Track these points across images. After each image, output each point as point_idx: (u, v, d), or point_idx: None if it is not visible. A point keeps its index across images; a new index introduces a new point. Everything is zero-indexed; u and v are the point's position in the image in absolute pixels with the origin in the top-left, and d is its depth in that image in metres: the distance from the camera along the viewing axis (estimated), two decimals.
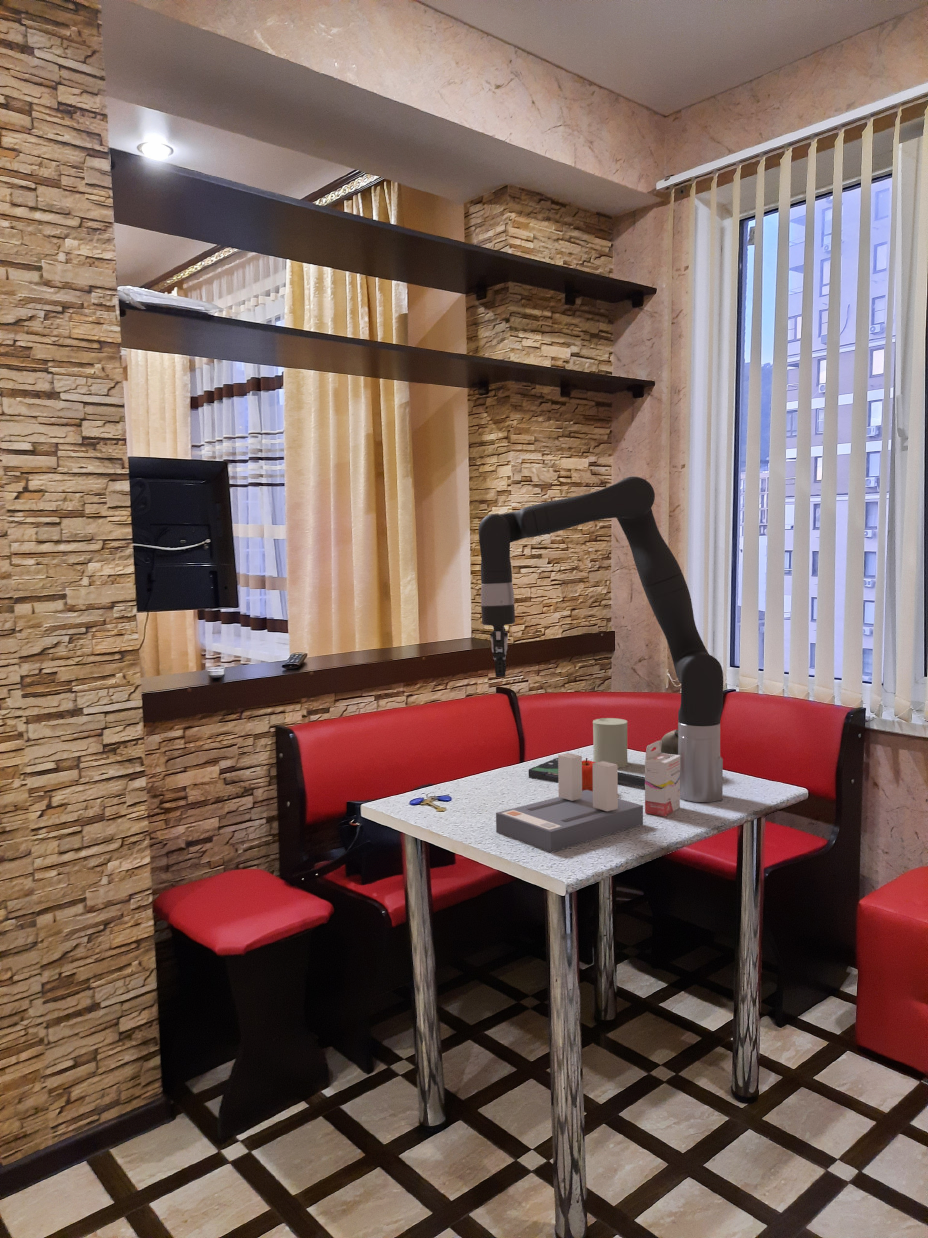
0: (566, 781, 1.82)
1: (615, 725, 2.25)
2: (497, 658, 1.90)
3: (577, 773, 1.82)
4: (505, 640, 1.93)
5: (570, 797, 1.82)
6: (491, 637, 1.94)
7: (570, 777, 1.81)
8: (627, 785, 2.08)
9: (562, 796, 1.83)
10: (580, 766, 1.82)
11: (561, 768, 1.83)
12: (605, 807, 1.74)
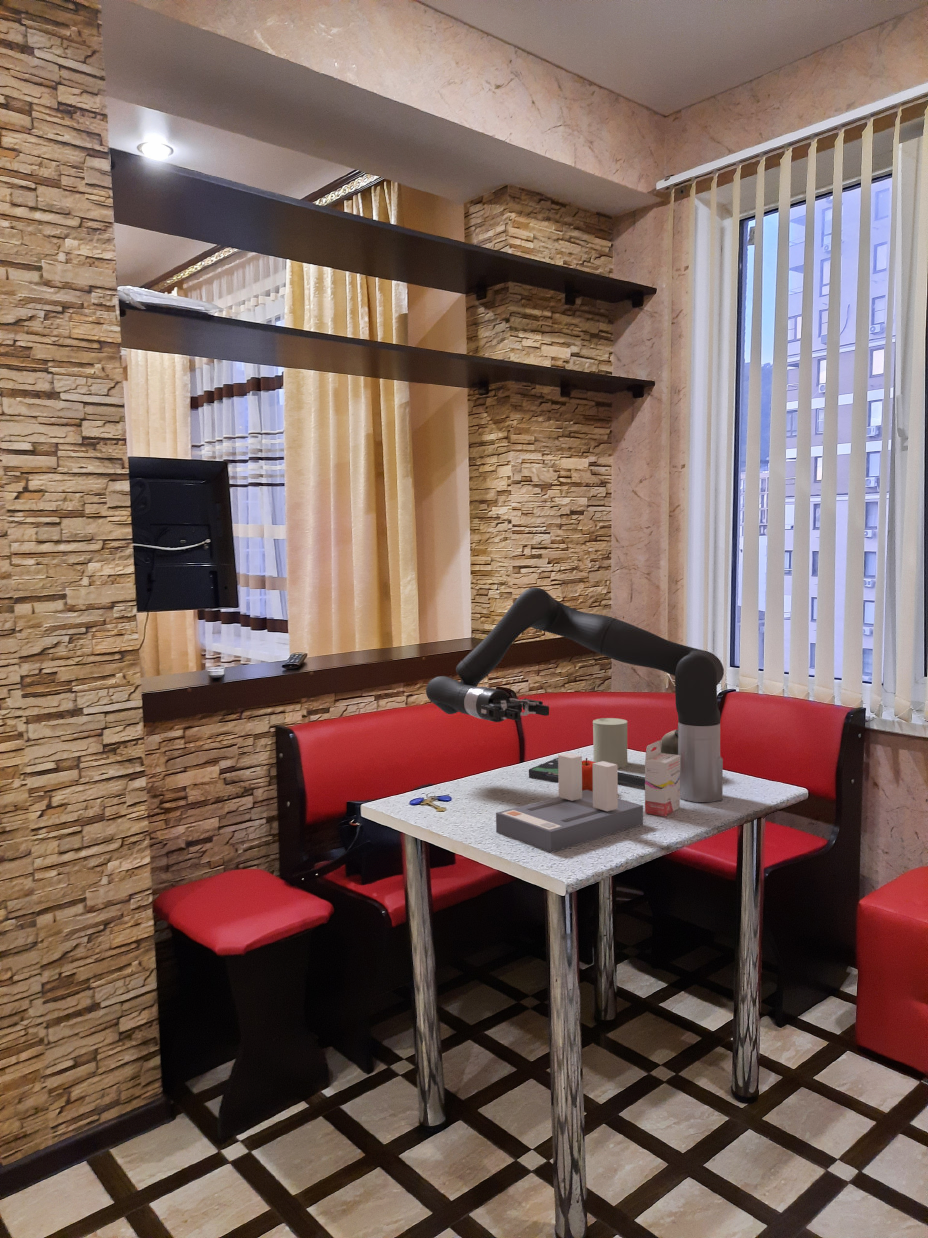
0: (566, 781, 1.82)
1: (615, 725, 2.25)
2: (499, 716, 1.91)
3: (577, 773, 1.82)
4: (500, 703, 1.96)
5: (570, 797, 1.82)
6: None
7: (570, 777, 1.81)
8: (627, 785, 2.08)
9: (562, 796, 1.83)
10: (580, 766, 1.82)
11: (561, 768, 1.83)
12: (605, 807, 1.74)
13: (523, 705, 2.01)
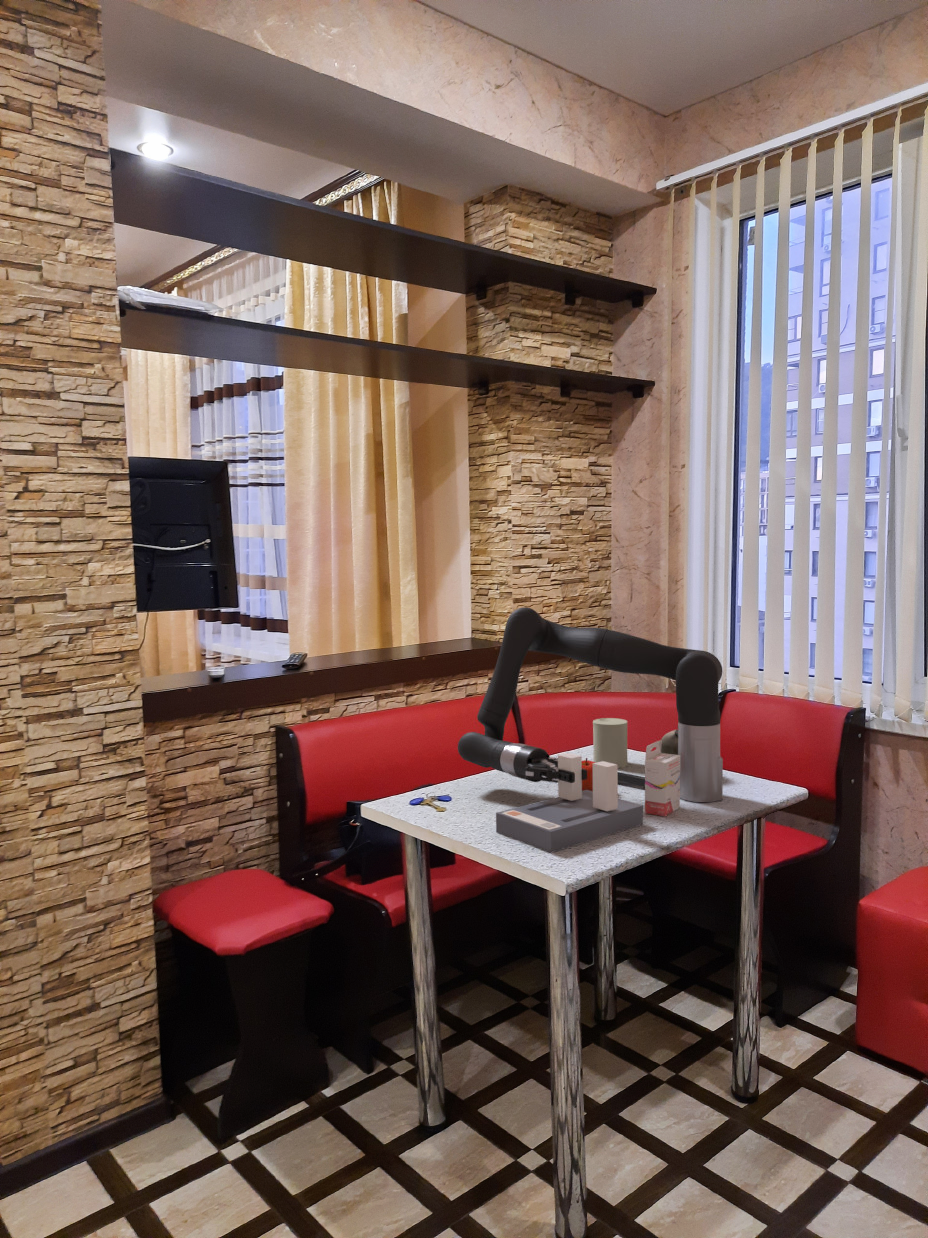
0: None
1: (615, 725, 2.25)
2: (552, 777, 1.82)
3: (577, 774, 1.82)
4: (544, 764, 1.86)
5: (569, 797, 1.82)
6: None
7: None
8: (627, 785, 2.08)
9: (562, 796, 1.83)
10: (580, 766, 1.82)
11: (560, 768, 1.83)
12: (605, 807, 1.74)
13: None
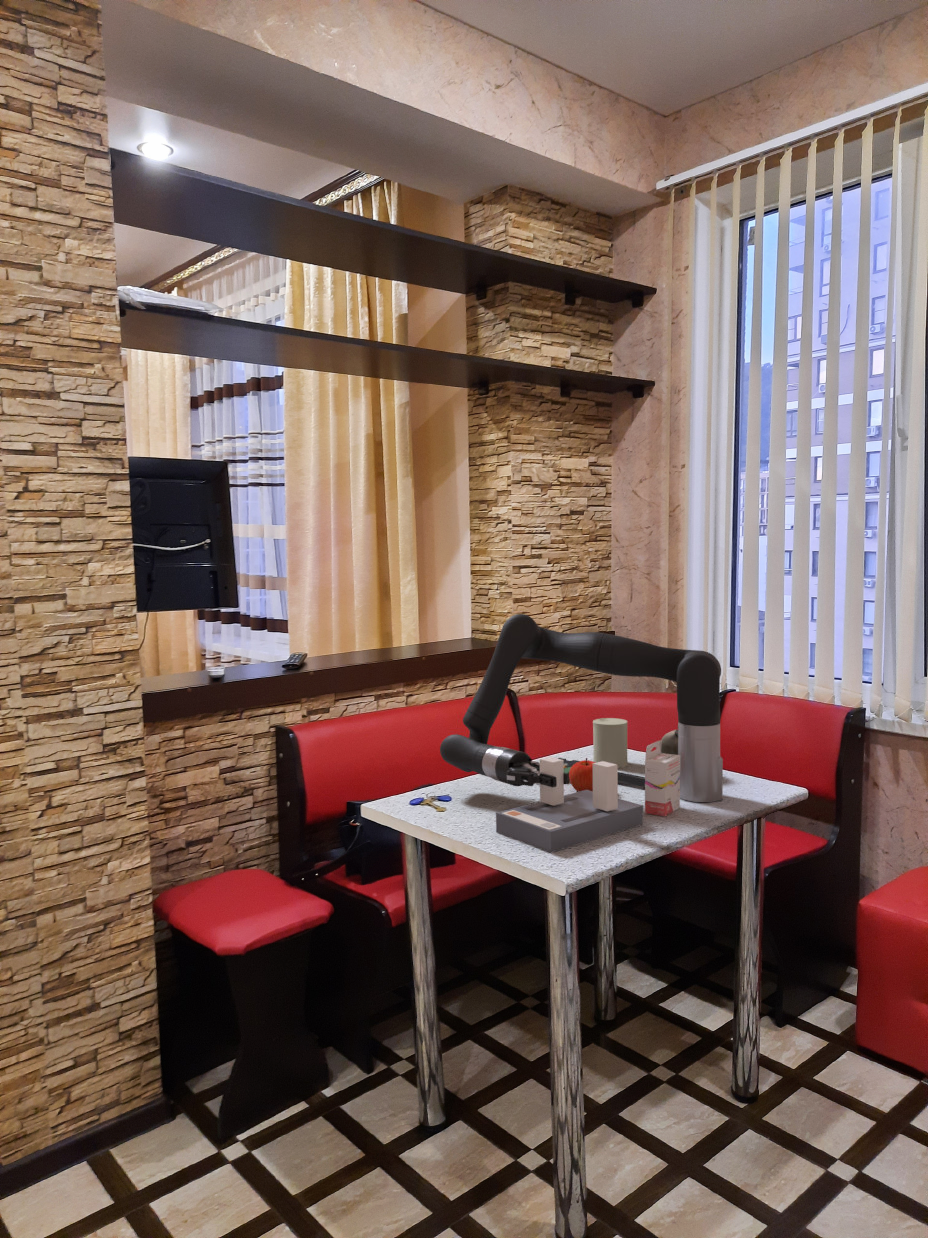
0: None
1: (615, 725, 2.25)
2: (533, 782, 1.79)
3: (559, 778, 1.79)
4: (526, 768, 1.83)
5: (551, 802, 1.78)
6: None
7: None
8: (627, 785, 2.08)
9: (543, 801, 1.80)
10: (562, 770, 1.79)
11: (542, 772, 1.80)
12: (605, 807, 1.74)
13: None
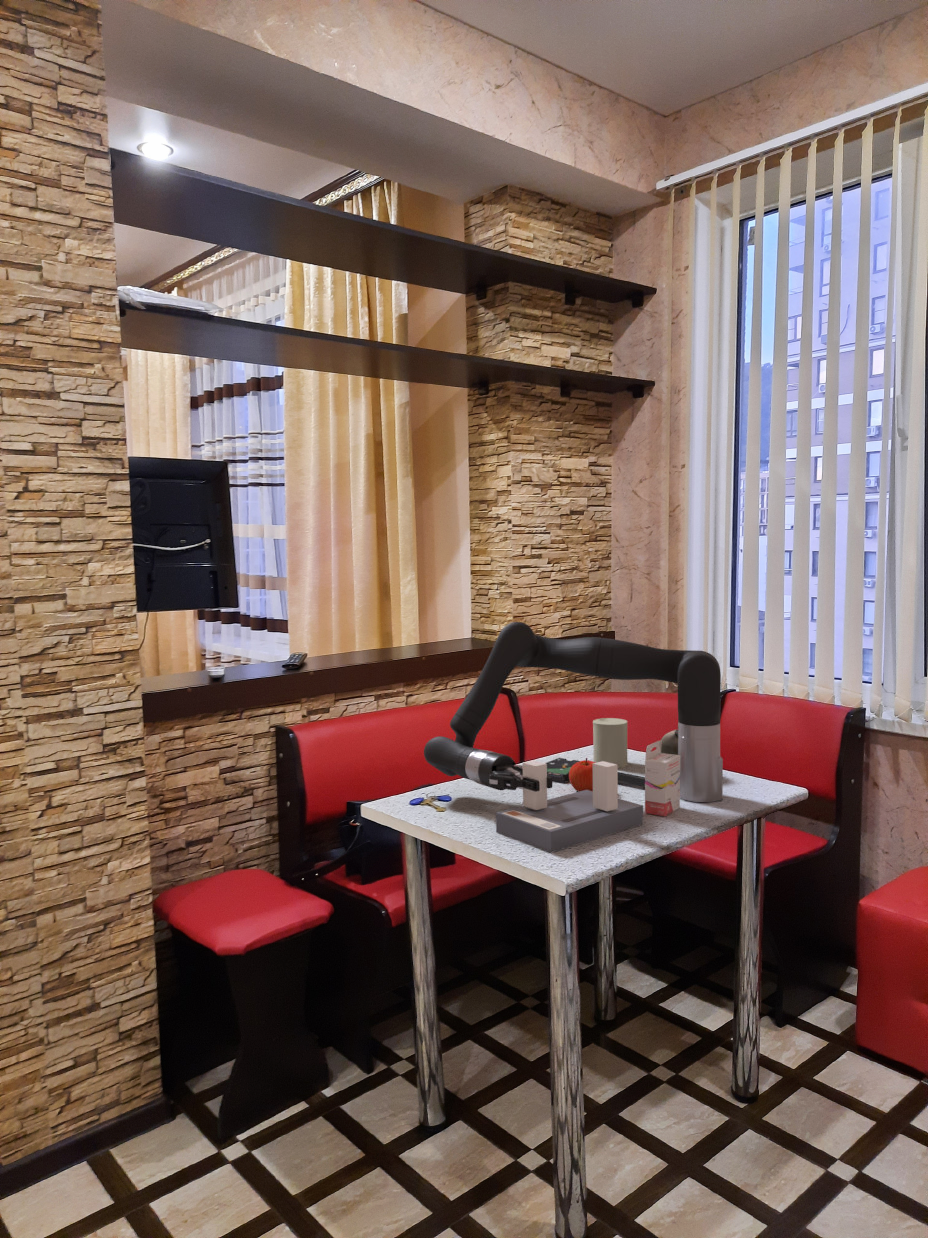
0: None
1: (615, 725, 2.25)
2: (516, 786, 1.76)
3: (542, 782, 1.76)
4: (509, 771, 1.80)
5: (534, 806, 1.75)
6: None
7: None
8: (627, 785, 2.08)
9: (527, 805, 1.77)
10: (545, 774, 1.76)
11: (525, 776, 1.77)
12: (605, 807, 1.74)
13: None
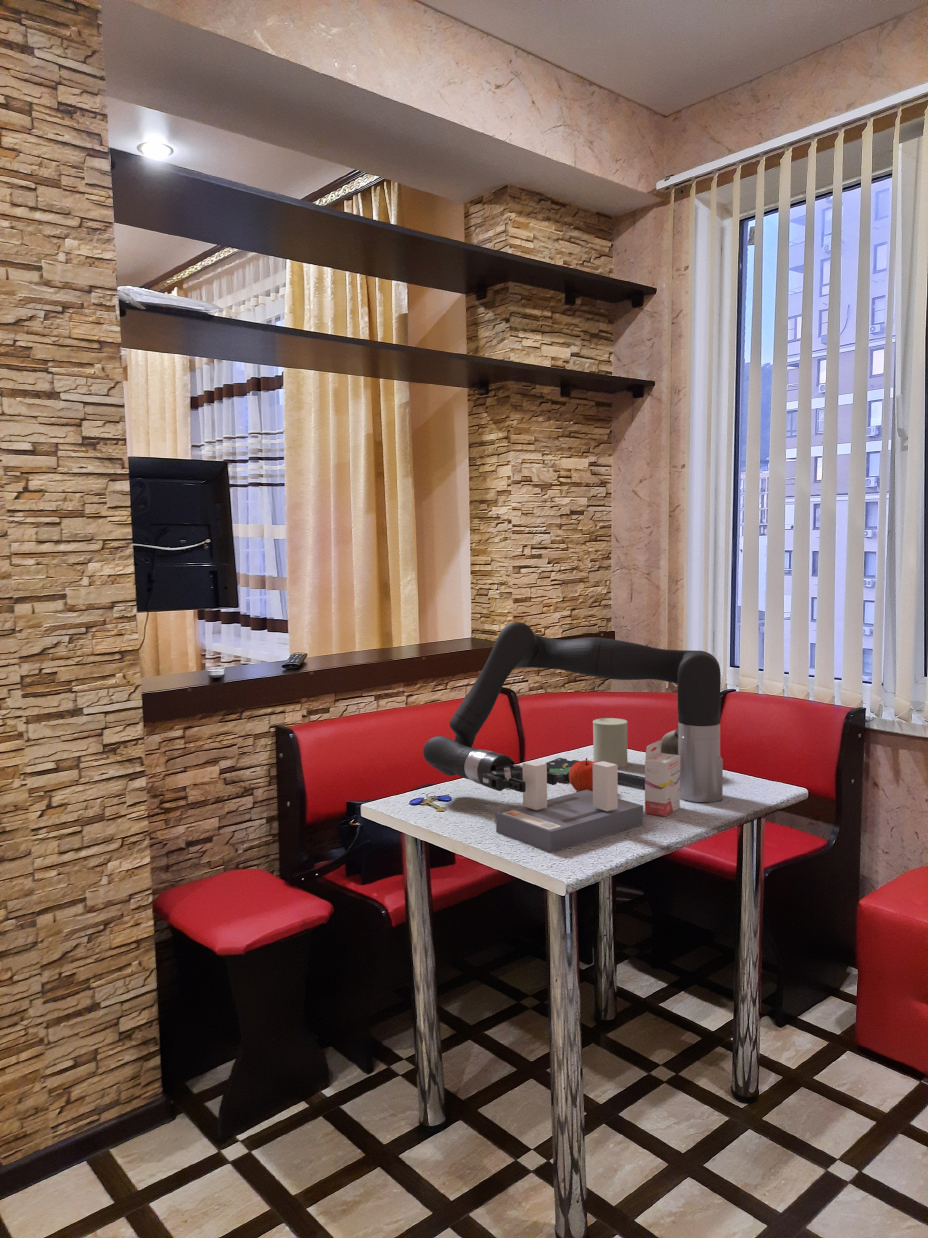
0: (531, 789, 1.76)
1: (615, 725, 2.25)
2: (502, 786, 1.76)
3: (542, 782, 1.76)
4: (504, 771, 1.80)
5: (534, 806, 1.75)
6: None
7: (534, 786, 1.75)
8: (627, 785, 2.08)
9: (526, 805, 1.77)
10: (545, 774, 1.76)
11: (525, 776, 1.77)
12: (605, 807, 1.74)
13: None
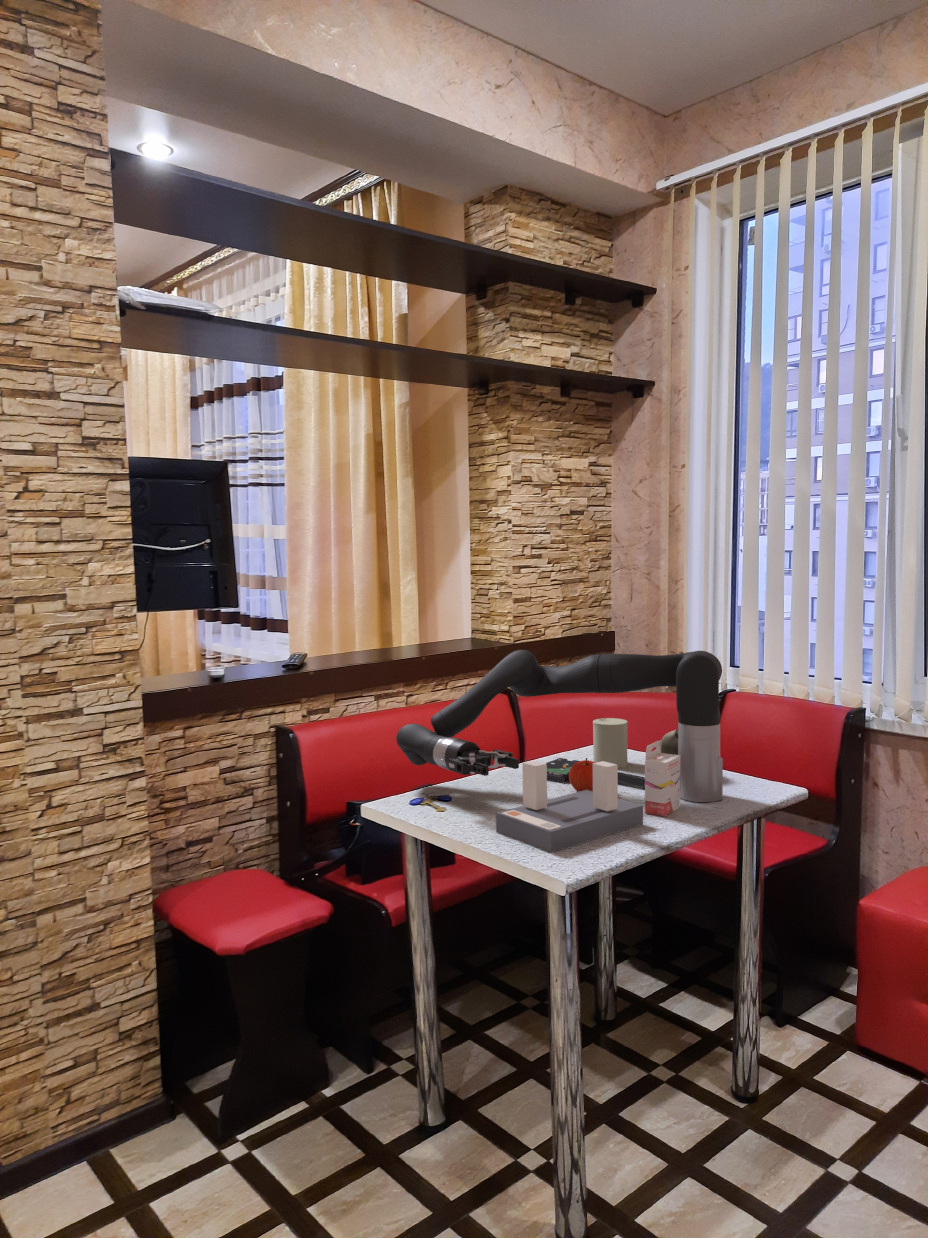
0: (531, 789, 1.76)
1: (615, 725, 2.25)
2: (467, 770, 1.86)
3: (542, 782, 1.76)
4: (469, 756, 1.91)
5: (534, 806, 1.75)
6: None
7: (534, 786, 1.75)
8: (627, 785, 2.08)
9: (526, 805, 1.77)
10: (545, 774, 1.76)
11: (525, 776, 1.77)
12: (605, 807, 1.74)
13: (493, 757, 1.96)
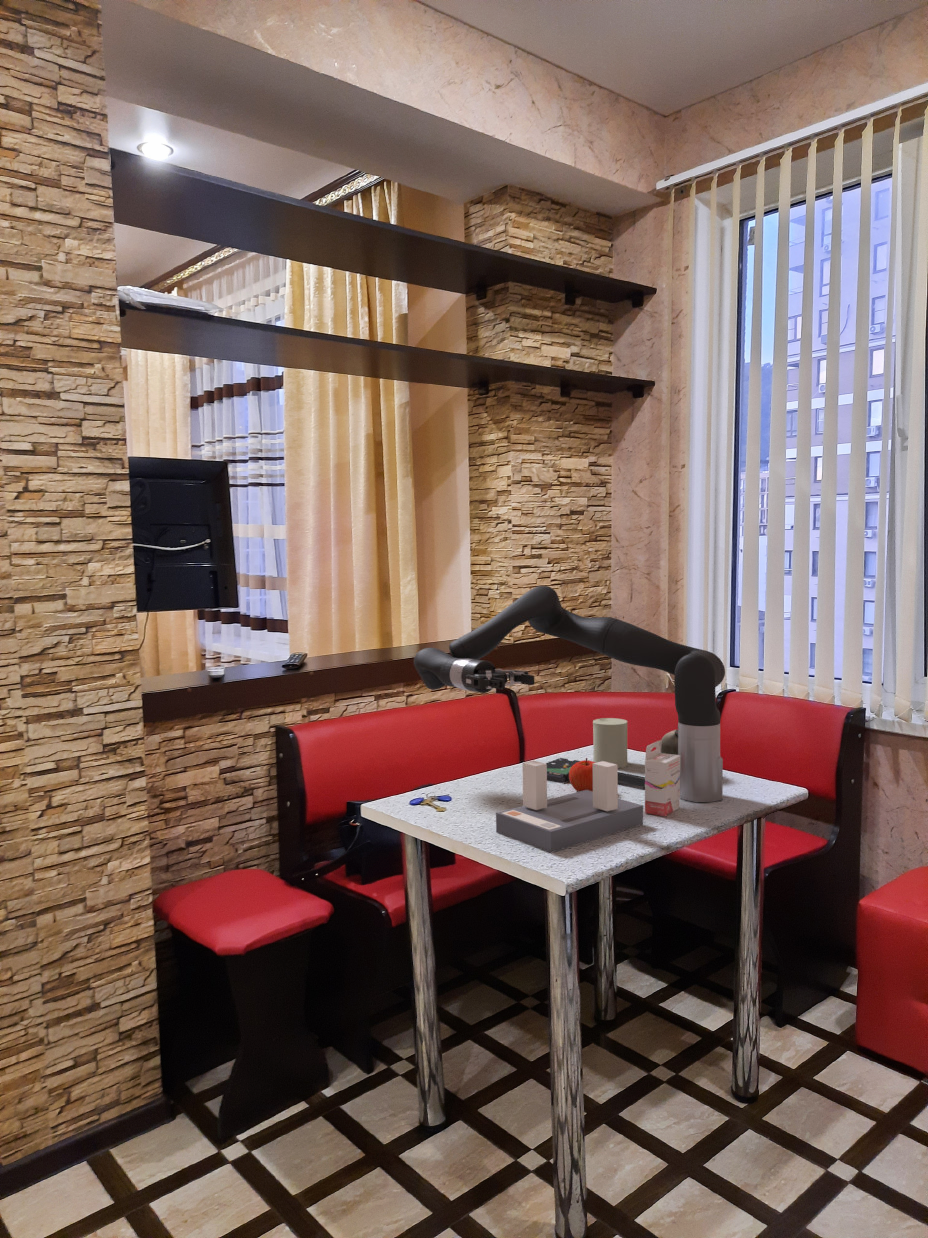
0: (531, 789, 1.76)
1: (615, 725, 2.25)
2: (483, 685, 1.90)
3: (542, 782, 1.76)
4: (485, 673, 1.94)
5: (534, 806, 1.75)
6: None
7: (534, 786, 1.75)
8: (627, 785, 2.08)
9: (526, 805, 1.77)
10: (545, 774, 1.76)
11: (525, 776, 1.77)
12: (605, 807, 1.74)
13: (509, 676, 2.00)
